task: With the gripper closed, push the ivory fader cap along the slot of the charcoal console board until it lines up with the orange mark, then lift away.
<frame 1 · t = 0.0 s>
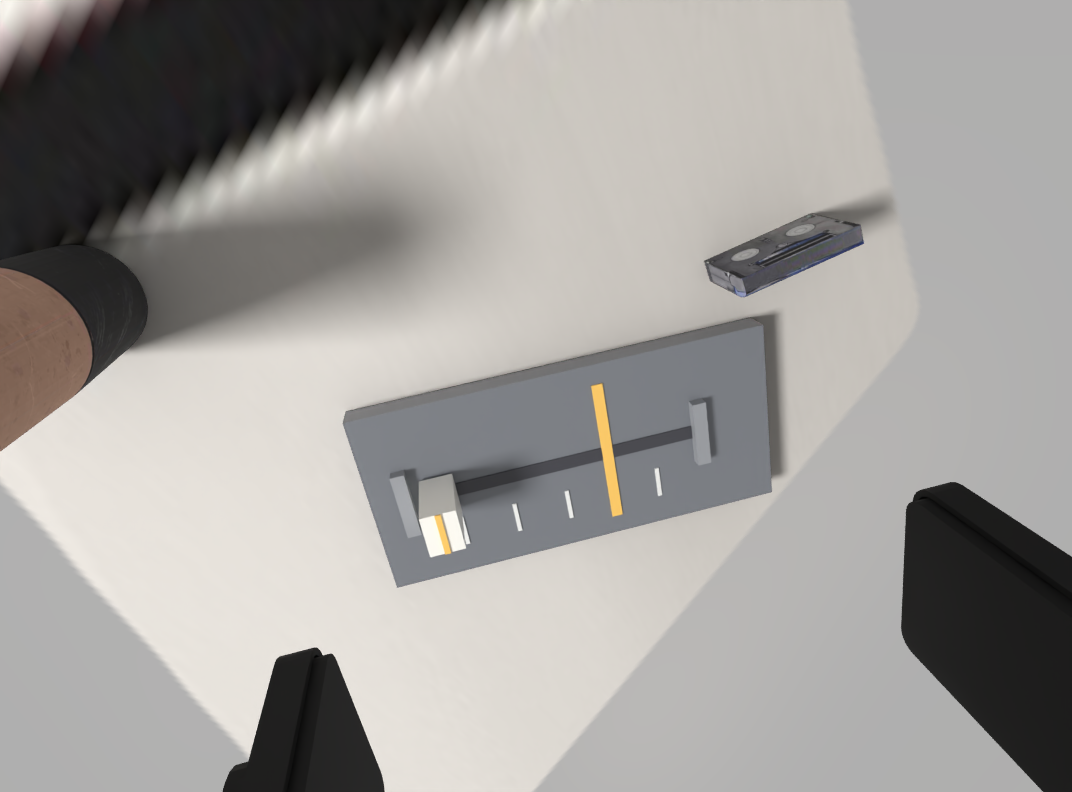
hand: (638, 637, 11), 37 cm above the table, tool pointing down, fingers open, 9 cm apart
travel mug: (87, 301, 42), on the table
mini dv tape: (757, 246, 48), on the table
fader: (441, 514, 46), point 5 cm above the table, slide at 0.0 cm
console: (568, 448, 51), on the table
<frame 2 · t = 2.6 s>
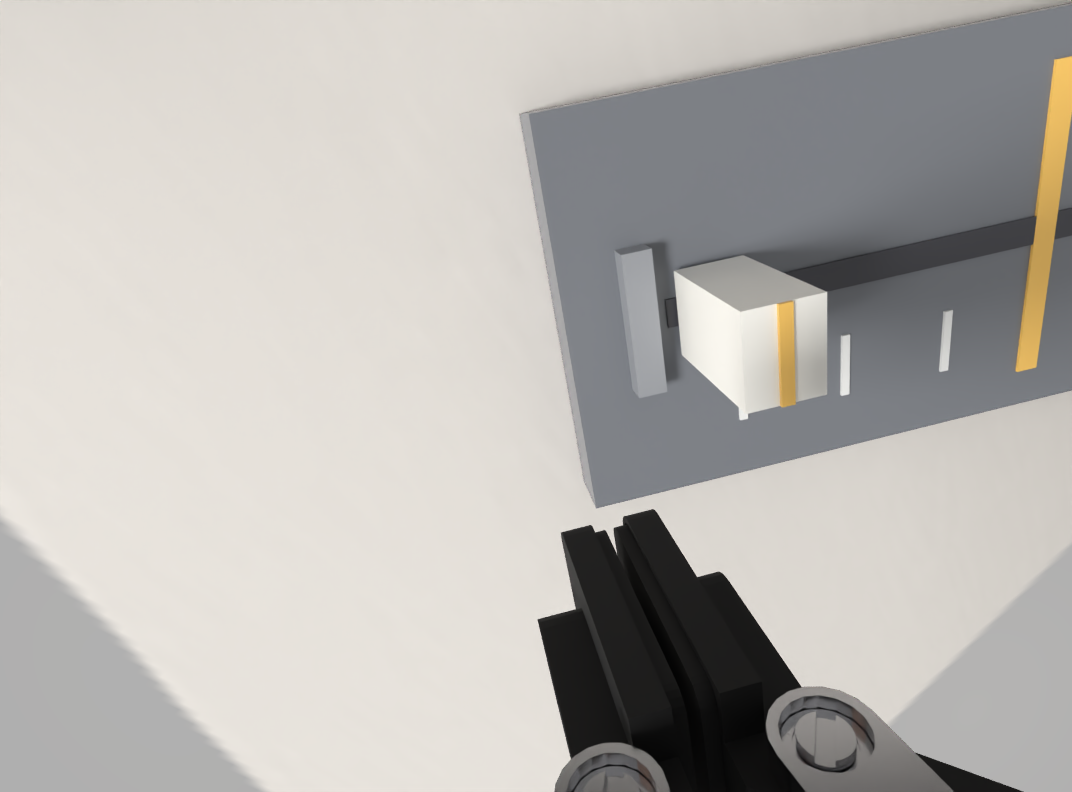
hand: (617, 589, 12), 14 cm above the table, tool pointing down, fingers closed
fader: (745, 328, 20), point 5 cm above the table, slide at 0.0 cm
console: (938, 233, 25), on the table
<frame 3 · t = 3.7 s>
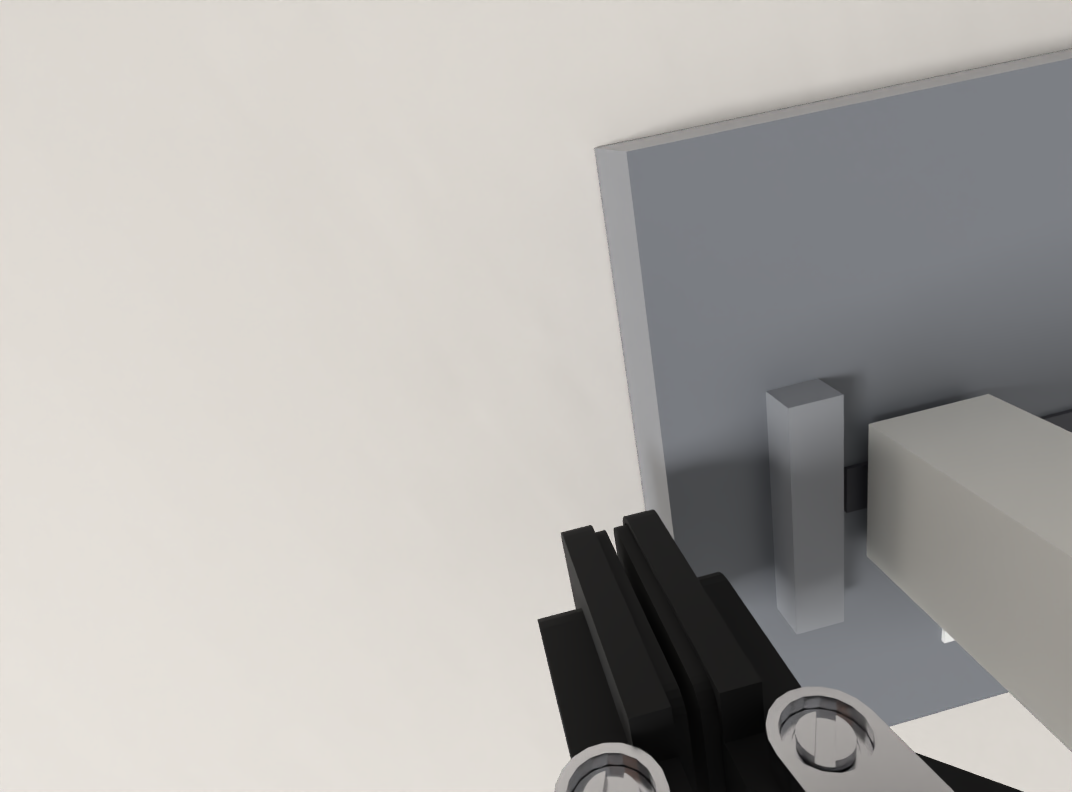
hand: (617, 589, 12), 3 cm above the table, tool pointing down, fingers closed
fader: (1037, 555, 11), point 5 cm above the table, slide at 0.0 cm
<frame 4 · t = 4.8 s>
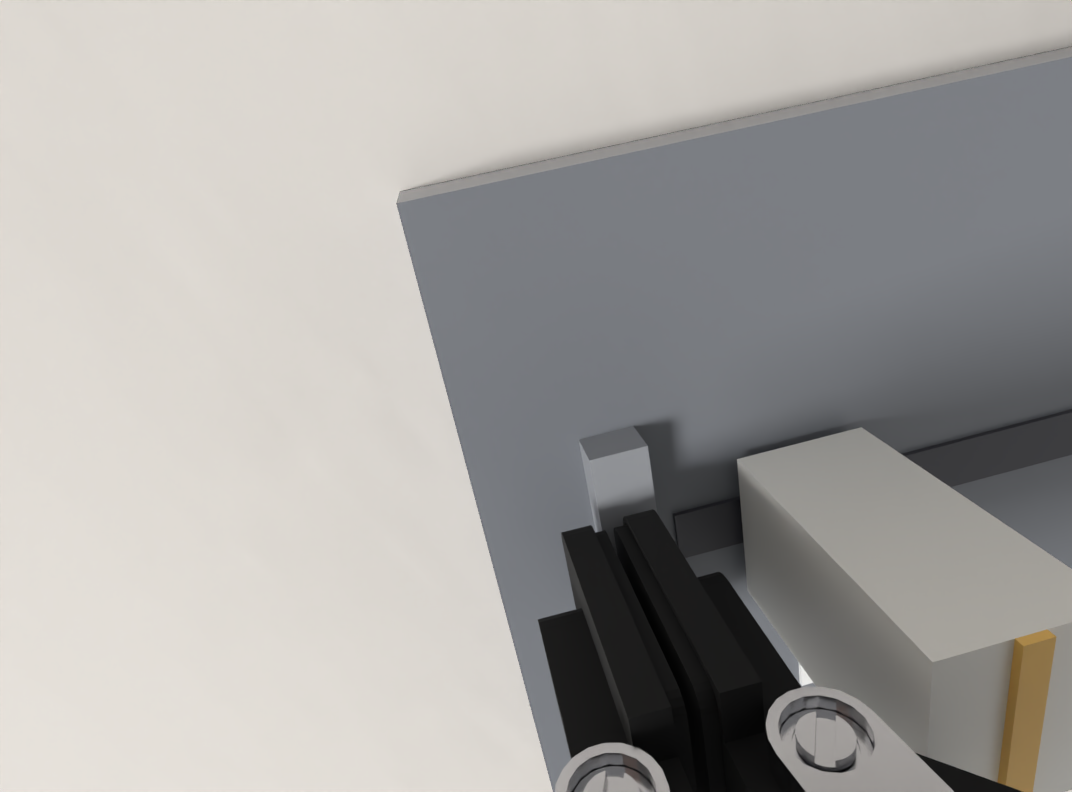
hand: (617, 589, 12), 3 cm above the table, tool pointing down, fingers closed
fader: (889, 598, 10), point 5 cm above the table, slide at 0.9 cm, touching gripper
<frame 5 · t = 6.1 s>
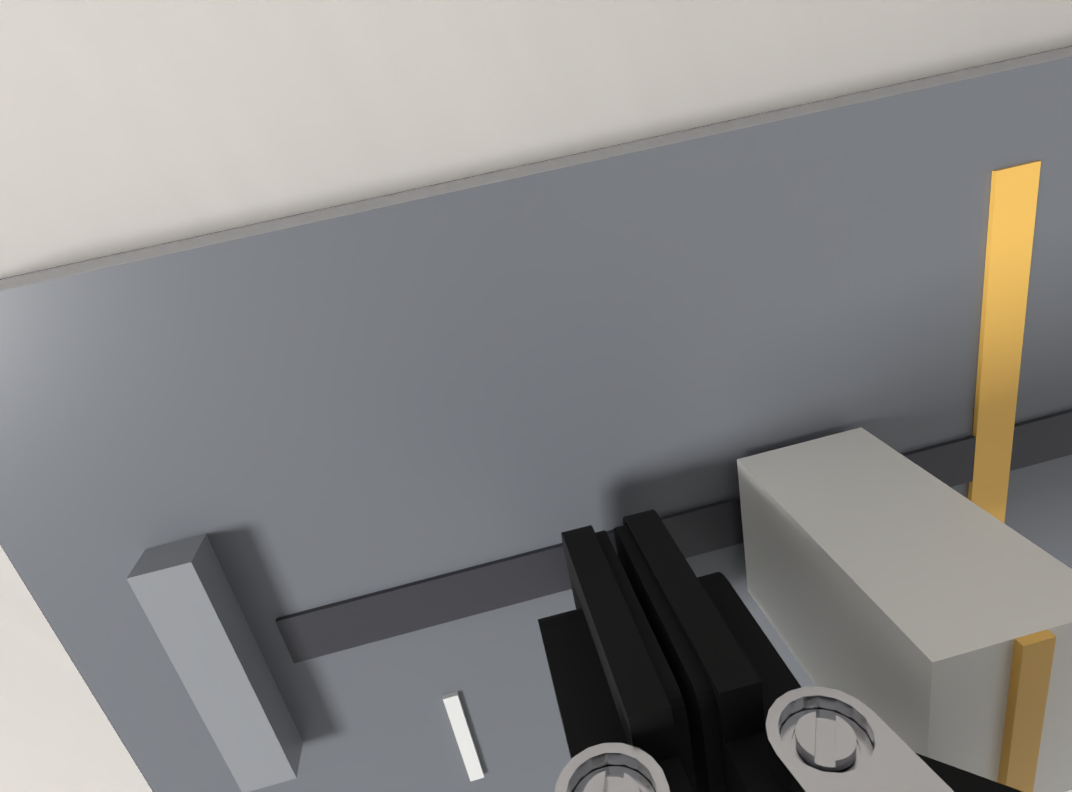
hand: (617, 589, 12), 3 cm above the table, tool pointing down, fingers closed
fader: (889, 598, 10), point 5 cm above the table, slide at 8.4 cm, touching gripper
console: (816, 440, 15), on the table
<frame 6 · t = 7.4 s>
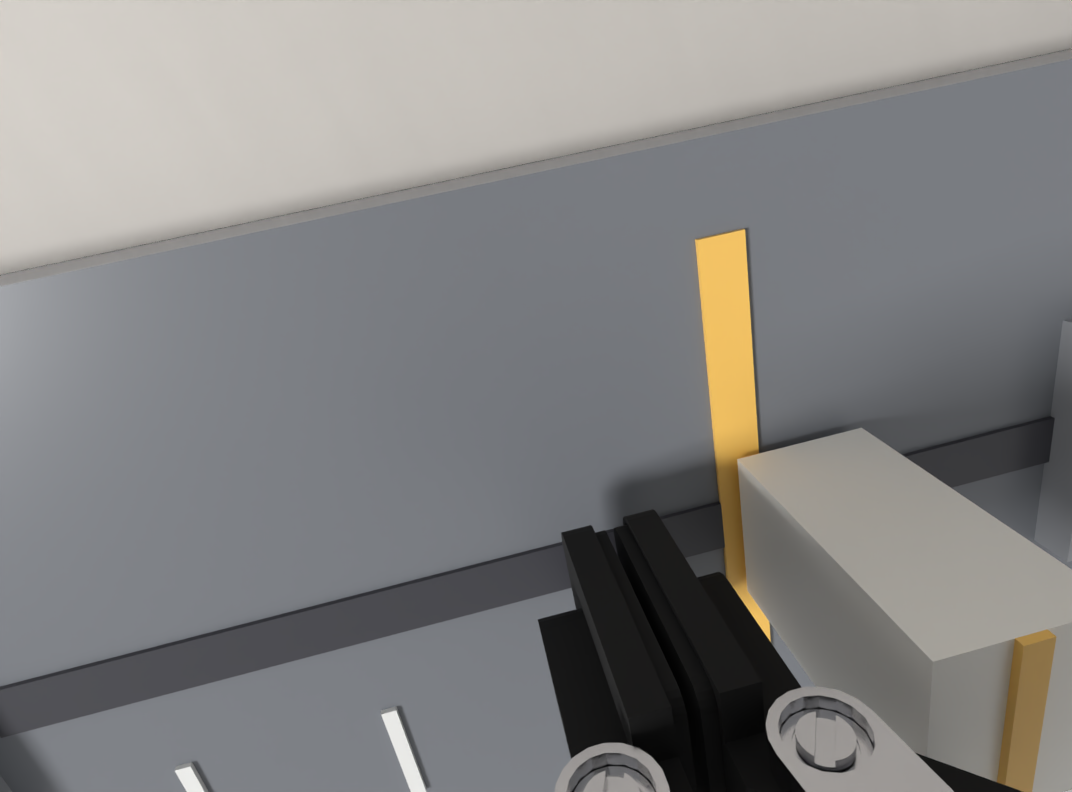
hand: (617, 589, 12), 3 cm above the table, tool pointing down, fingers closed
fader: (889, 598, 10), point 5 cm above the table, slide at 13.6 cm, touching gripper
console: (591, 497, 15), on the table
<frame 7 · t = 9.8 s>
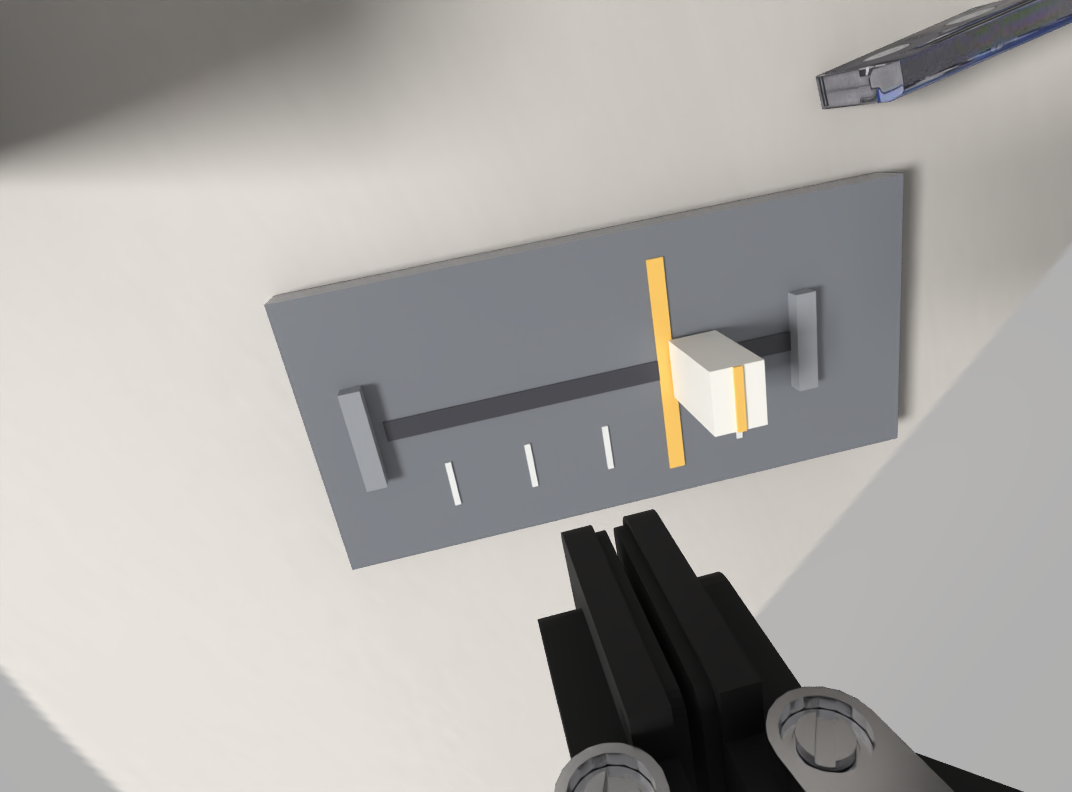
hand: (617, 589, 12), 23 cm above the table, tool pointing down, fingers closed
mini dv tape: (893, 59, 32), on the table
fader: (715, 380, 31), point 5 cm above the table, slide at 13.9 cm
console: (607, 367, 35), on the table
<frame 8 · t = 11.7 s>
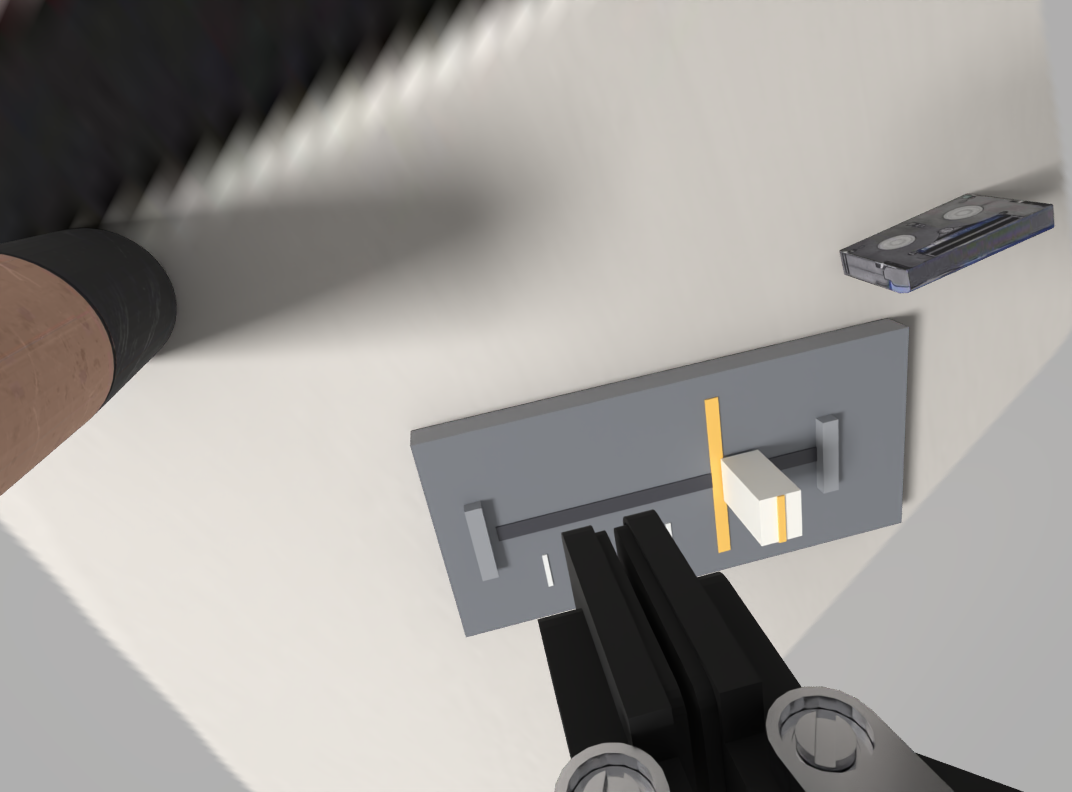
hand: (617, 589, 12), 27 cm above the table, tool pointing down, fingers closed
travel mug: (103, 298, 34), on the table
mini dv tape: (901, 233, 40), on the table
fader: (760, 496, 39), point 5 cm above the table, slide at 13.9 cm
console: (668, 472, 43), on the table
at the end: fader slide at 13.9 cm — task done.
